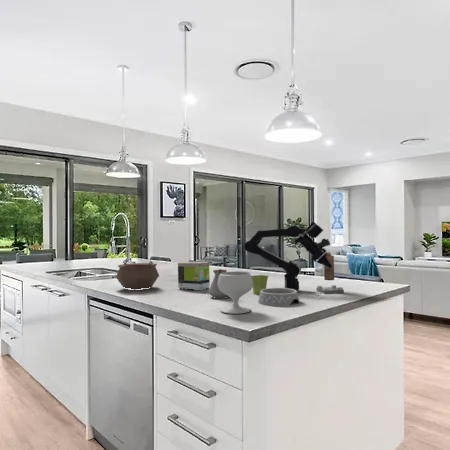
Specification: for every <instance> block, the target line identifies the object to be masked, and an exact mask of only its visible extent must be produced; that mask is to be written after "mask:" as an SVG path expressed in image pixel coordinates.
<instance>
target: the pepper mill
mask: <svg viewBox="0 0 450 450" xmlns="http://www.w3.org/2000/svg"><path fill="white" fill-rule="evenodd" d="M326 258H327V260H328V261H329V262H330V264H331V265H332V267H331V268H330V267H327V266H325V265H323V272H324V273H323V276H324V280H323V281H335V255H332V253H331V252H330V251H329V252H327V254H326Z"/></svg>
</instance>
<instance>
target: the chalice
mask: <svg viewBox="0 0 450 450" xmlns="http://www.w3.org/2000/svg"><path fill="white" fill-rule="evenodd" d="M251 276H252V275H251V273H250V272H248V271H226V272H223V273H221V274H220V275H219V278H218V283H217V284H218V288H219V290H220V291H221V292H223V293H224V294H226V295H228V296H229V297H228V298H230V299H232V303H233V304H232V306H226V307H224V308H221V309H219V311H220V312H221V313H224V314H230V315H237V314H240V315H241V314H245V313H250V312H251V311H252V309H251V308H249V307H247V306H240V305H239V300H240V298H242V297H243V296H245V294H248V293H249V292H251V290H253V280H252V277H251Z"/></svg>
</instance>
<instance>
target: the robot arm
mask: <svg viewBox="0 0 450 450" xmlns="http://www.w3.org/2000/svg"><path fill="white" fill-rule="evenodd" d="M323 231H324V229H323V228H322V227H321V226H320V225H318V223H316V222H315V221H312V222H311V223H310V225H308V226H307V228H301V226H299V225H292V226H288V227H284V228H281V229H279V228H278V229H268V230H262V229H261V230H258V231H257V232H256V233H255V234H254V235H253V236H252V237H251V238H250V239H249V240H247V241H246V242H245V243H244V246H243V248H244V250H245V251H246V252H247V253H250V254H255V255H259V256H260V257H262V258H264V259H265V260H267V261H269V262H271V263H272V264H275V265H276V266H278V267H280V268H281V269H283V270H284V271H285V272H286V273H285V274H284V276H283V277H284V288H289V289H294V290H296V291H297V292H299V291H300V282H299V278H298V275H300V274H301V273H302V267H301V265H299V263H298V262H295V261H294V260H292V259H291V260H285V259H283V258H281V257H280V256H278V255H275V254H274V253H272V252H270V251H268V249H265V248H263V247H262V246H261V245H260V243H261V242H262V240H263V238H273V237H288V238H289V237H291V238H295V239H294V241H295V243H294V244H295V245H299V244H300V245H301V246H302V247H303V248H304V249H305V250H306V252H307V253H309V254H310V255H311V256H312V257H311V259H312V261H313V262H315V263H318V264H321V265H323V266H324V265H325V266H327V267H330V268H331V267H332V265H331V264H330V262H329V261H328V260H327V258H326V254H327V253H328V252H327V250H326V248H324V247H327V246H330V245H331V242H330V239H328V238H327V239H326V238H322V239H321V241H320V242H317V241H314V240H313V238H315V239H316V238H317V237H318V236H320V234H322V233H323ZM303 234H304V235H303Z"/></svg>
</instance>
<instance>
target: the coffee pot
mask: <svg viewBox="0 0 450 450" xmlns="http://www.w3.org/2000/svg"><path fill="white" fill-rule="evenodd" d="M212 271H213V274H214V277H213V280H212V282H211V284H210V288H209V289H208V294H209V295H210V296H211V297H212V298H213V297H215V298H214V299H228V298H230V297H229V296H228V295H226V294H224V293H223V292H221V291H220V290H219V288H218V284H217V283H218V278H219V275H220V274H221V273H223V272H228V270H227V269H221V268H220V269H214V270H213V269H212ZM227 297H228V298H227Z"/></svg>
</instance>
